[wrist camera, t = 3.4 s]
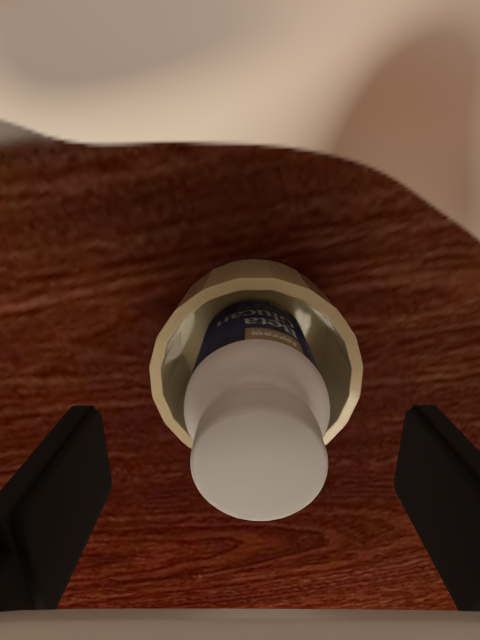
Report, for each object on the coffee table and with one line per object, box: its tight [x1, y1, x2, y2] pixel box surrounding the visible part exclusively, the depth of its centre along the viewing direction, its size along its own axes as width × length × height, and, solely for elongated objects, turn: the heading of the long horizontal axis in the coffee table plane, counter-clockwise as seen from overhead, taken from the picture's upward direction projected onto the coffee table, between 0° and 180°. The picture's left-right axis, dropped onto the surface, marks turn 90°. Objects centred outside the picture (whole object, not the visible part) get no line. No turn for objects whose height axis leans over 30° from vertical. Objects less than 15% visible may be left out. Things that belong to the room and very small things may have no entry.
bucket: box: [149, 259, 363, 449], centre depth 17 cm, size 9×9×5 cm
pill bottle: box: [184, 297, 330, 521], centre depth 14 cm, size 5×5×10 cm
